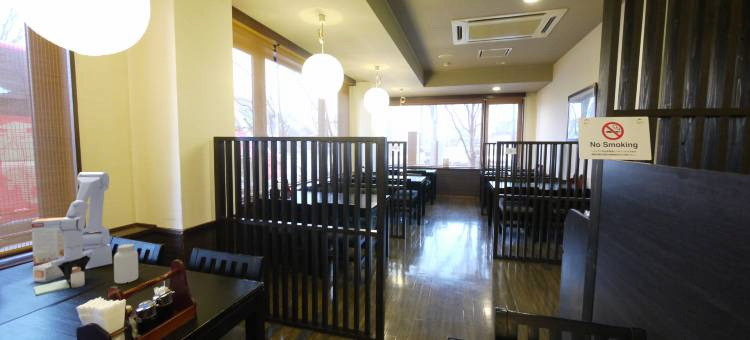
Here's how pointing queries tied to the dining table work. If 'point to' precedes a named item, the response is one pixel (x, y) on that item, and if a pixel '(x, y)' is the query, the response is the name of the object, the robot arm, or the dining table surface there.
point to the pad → (51, 287)
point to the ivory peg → (77, 279)
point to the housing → (46, 272)
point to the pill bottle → (125, 264)
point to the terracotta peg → (75, 269)
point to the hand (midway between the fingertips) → (74, 276)
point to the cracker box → (47, 240)
